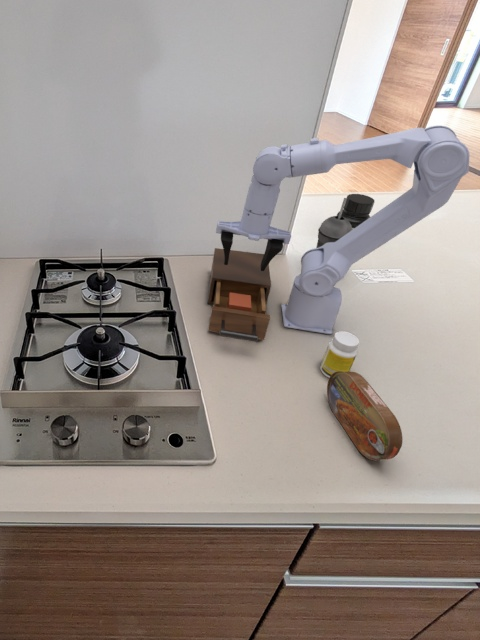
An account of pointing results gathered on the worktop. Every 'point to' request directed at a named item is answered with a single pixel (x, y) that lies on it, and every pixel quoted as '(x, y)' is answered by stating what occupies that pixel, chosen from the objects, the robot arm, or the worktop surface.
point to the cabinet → (239, 271)
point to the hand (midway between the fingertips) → (243, 265)
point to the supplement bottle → (340, 353)
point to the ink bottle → (357, 209)
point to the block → (239, 302)
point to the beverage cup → (333, 228)
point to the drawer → (239, 313)
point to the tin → (364, 416)
